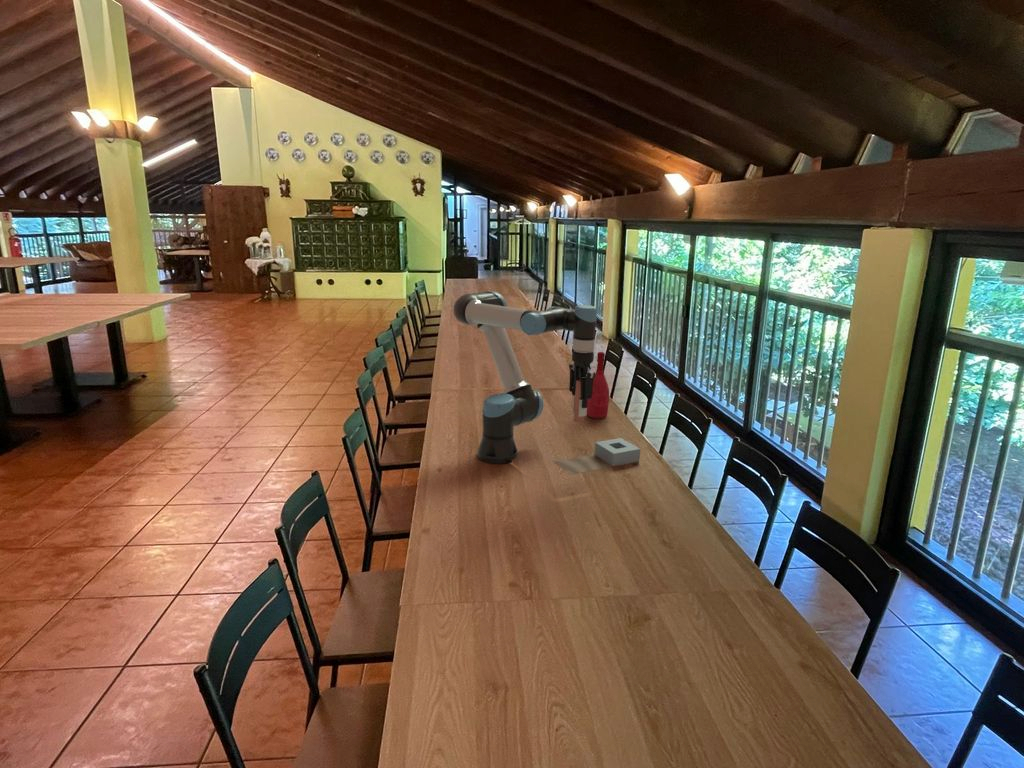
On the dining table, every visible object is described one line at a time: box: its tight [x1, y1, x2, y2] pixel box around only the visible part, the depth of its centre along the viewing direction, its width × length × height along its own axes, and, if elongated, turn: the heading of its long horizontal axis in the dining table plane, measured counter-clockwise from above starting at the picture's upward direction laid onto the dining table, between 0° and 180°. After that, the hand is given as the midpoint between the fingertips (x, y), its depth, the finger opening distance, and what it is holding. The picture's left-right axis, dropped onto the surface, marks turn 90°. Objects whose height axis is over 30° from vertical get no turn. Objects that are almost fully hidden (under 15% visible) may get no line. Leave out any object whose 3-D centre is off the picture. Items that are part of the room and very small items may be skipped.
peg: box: [573, 380, 585, 424], centre depth 219 cm, size 4×4×15 cm
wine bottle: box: [586, 351, 610, 419], centre depth 278 cm, size 10×10×30 cm
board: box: [554, 454, 640, 475], centre depth 230 cm, size 30×12×1 cm, turn 116°
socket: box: [593, 437, 641, 467], centre depth 233 cm, size 12×12×5 cm
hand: (578, 414), depth 220 cm, fingers closed on peg, 3 cm apart
